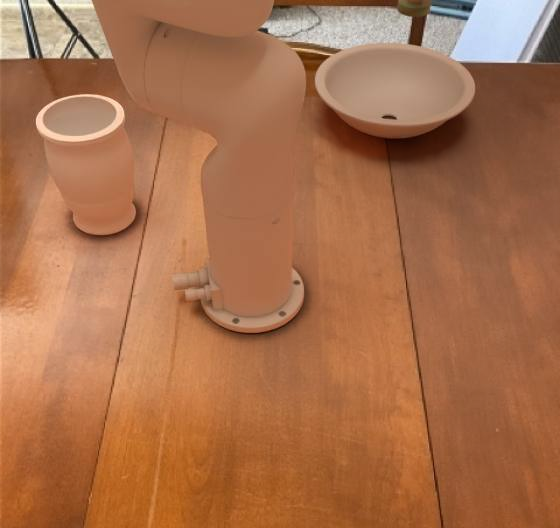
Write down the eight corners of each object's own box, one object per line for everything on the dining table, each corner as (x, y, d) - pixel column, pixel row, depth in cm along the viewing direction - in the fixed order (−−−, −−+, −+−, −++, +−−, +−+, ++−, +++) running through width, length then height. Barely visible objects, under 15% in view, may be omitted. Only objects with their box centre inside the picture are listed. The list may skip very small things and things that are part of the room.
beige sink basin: (282, 115, 108) (282, 75, 103) (388, 66, 118) (393, 28, 113) (390, 186, 97) (396, 145, 92) (497, 125, 106) (509, 85, 101)
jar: (159, 210, 93) (142, 109, 82) (107, 252, 88) (80, 150, 76) (102, 184, 97) (78, 84, 85) (49, 222, 92) (15, 121, 80)
